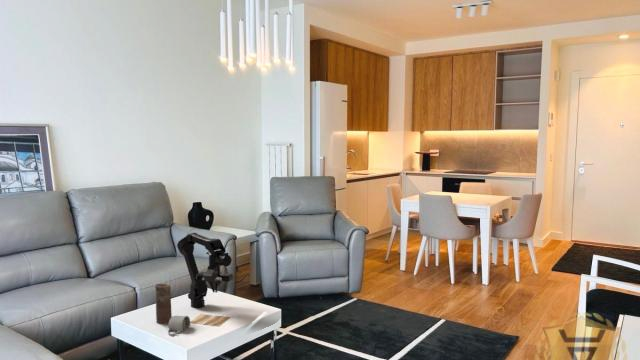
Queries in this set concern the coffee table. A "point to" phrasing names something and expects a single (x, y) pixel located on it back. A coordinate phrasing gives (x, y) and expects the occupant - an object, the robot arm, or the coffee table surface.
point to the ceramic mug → (178, 324)
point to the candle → (163, 303)
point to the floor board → (217, 321)
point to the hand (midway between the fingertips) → (215, 292)
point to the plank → (201, 319)
